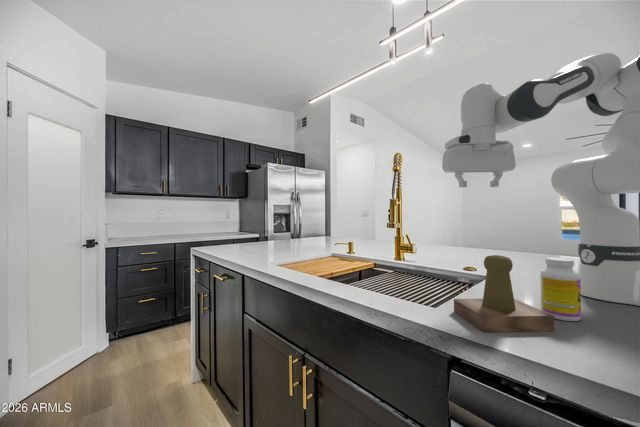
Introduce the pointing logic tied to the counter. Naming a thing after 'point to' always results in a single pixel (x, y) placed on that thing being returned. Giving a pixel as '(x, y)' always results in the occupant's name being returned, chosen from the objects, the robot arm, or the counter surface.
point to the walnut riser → (504, 317)
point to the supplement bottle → (561, 290)
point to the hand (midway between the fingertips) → (478, 187)
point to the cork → (498, 284)
